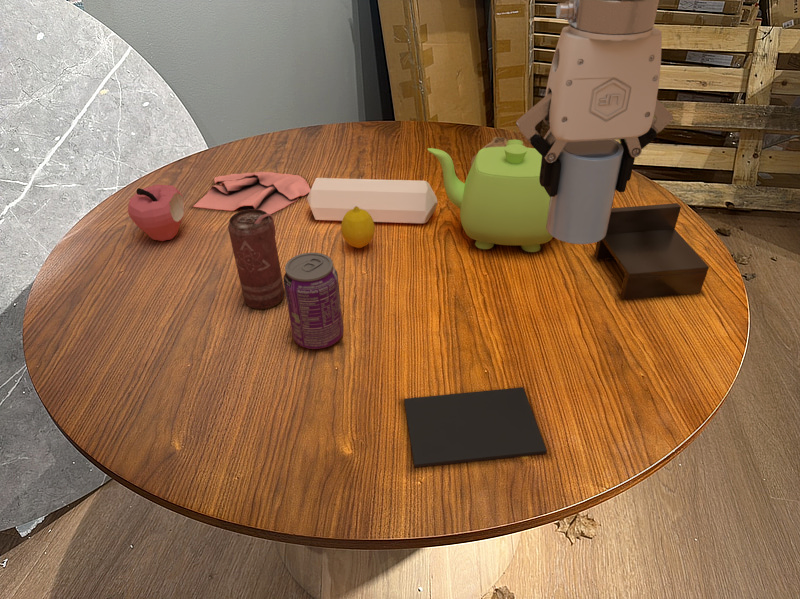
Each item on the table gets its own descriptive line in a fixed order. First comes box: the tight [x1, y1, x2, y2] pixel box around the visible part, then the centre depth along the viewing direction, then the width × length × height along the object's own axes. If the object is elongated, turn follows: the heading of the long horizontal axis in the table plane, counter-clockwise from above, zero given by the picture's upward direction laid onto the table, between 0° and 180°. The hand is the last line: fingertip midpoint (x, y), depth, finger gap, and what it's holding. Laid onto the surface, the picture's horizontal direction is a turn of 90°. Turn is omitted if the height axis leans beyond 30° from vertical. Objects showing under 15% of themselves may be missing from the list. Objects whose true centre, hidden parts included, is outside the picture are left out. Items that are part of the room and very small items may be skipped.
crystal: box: [306, 177, 439, 224], centre depth 112 cm, size 7×7×24 cm
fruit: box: [340, 206, 376, 249], centre depth 102 cm, size 6×6×8 cm
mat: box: [403, 386, 548, 469], centre depth 73 cm, size 15×10×1 cm, turn 96°
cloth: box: [192, 171, 311, 215], centre depth 121 cm, size 20×22×2 cm
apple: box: [127, 183, 185, 242], centre depth 106 cm, size 10×9×10 cm
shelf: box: [593, 202, 710, 301], centre depth 94 cm, size 12×12×9 cm
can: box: [227, 209, 286, 310], centre depth 90 cm, size 6×6×14 cm
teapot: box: [427, 139, 554, 253], centre depth 105 cm, size 25×22×16 cm
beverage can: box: [282, 252, 344, 350], centre depth 83 cm, size 7×7×12 cm
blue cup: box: [546, 139, 624, 245], centre depth 68 cm, size 7×7×10 cm
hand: (583, 187), depth 67 cm, fingers closed on blue cup, 6 cm apart
